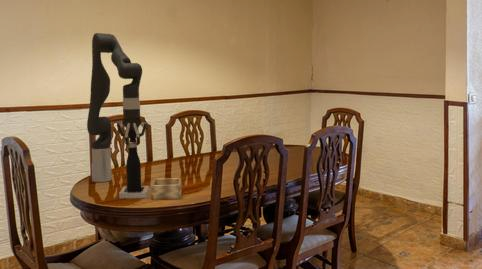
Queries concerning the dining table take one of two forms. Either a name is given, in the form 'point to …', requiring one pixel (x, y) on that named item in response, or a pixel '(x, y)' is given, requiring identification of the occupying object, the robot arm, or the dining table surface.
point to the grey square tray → (134, 193)
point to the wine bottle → (133, 165)
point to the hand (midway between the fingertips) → (132, 145)
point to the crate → (166, 189)
